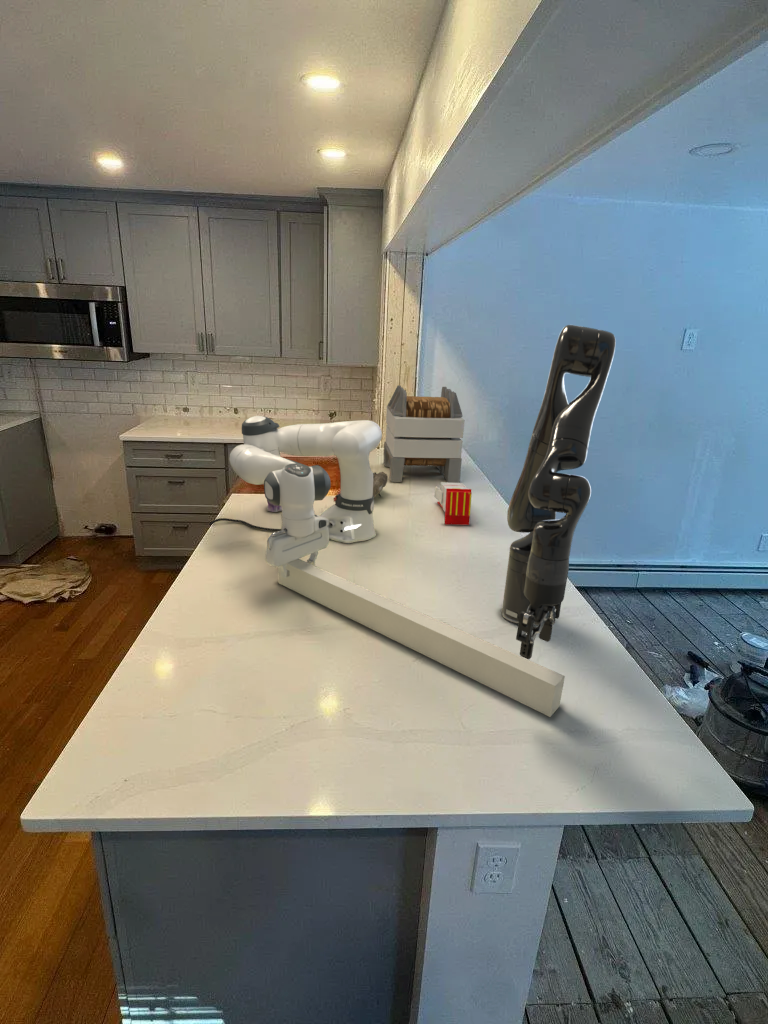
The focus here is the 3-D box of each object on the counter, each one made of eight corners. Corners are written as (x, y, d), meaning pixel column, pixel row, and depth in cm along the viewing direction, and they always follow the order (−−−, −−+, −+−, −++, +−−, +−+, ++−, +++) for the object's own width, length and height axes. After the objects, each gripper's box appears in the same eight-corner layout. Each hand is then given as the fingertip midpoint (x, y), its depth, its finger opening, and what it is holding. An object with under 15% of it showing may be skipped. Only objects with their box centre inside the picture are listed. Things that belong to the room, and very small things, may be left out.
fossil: (356, 478, 247) (383, 459, 242) (370, 494, 250) (397, 476, 245) (349, 499, 228) (378, 479, 223) (363, 516, 230) (393, 497, 225)
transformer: (382, 463, 289) (386, 382, 275) (445, 464, 293) (451, 384, 279) (390, 482, 257) (394, 392, 243) (460, 483, 261) (468, 394, 247)
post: (278, 583, 161) (277, 559, 158) (290, 578, 164) (290, 554, 162) (550, 717, 112) (555, 686, 110) (559, 706, 115) (565, 675, 113)
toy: (462, 478, 235) (476, 490, 206) (460, 509, 238) (473, 526, 208) (433, 477, 234) (442, 489, 205) (431, 509, 237) (440, 525, 208)
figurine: (269, 514, 212) (268, 475, 207) (262, 505, 221) (260, 468, 216) (293, 511, 217) (293, 473, 212) (285, 503, 225) (284, 466, 220)
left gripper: (275, 538, 143) (276, 587, 148) (333, 518, 158) (332, 563, 163) (259, 531, 147) (261, 579, 151) (317, 512, 162) (317, 557, 166)
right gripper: (549, 594, 100) (536, 671, 106) (580, 569, 111) (567, 641, 116) (510, 580, 105) (501, 655, 110) (544, 558, 115) (533, 627, 121)
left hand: (298, 571), depth 157 cm, fingers open, 8 cm apart
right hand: (535, 648), depth 113 cm, fingers open, 8 cm apart
